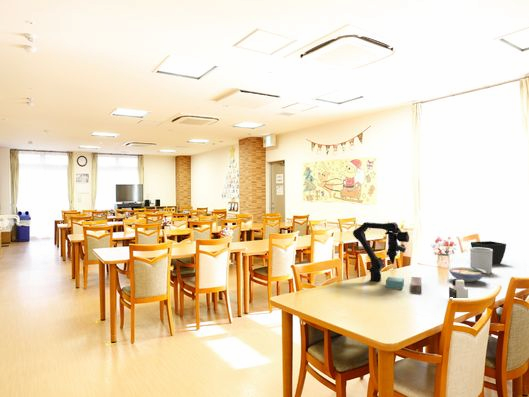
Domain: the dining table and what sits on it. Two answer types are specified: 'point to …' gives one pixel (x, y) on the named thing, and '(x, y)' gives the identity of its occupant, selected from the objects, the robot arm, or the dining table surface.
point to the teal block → (394, 283)
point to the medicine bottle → (458, 289)
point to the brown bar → (415, 284)
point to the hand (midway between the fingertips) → (392, 263)
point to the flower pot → (495, 246)
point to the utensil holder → (481, 258)
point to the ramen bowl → (467, 273)
